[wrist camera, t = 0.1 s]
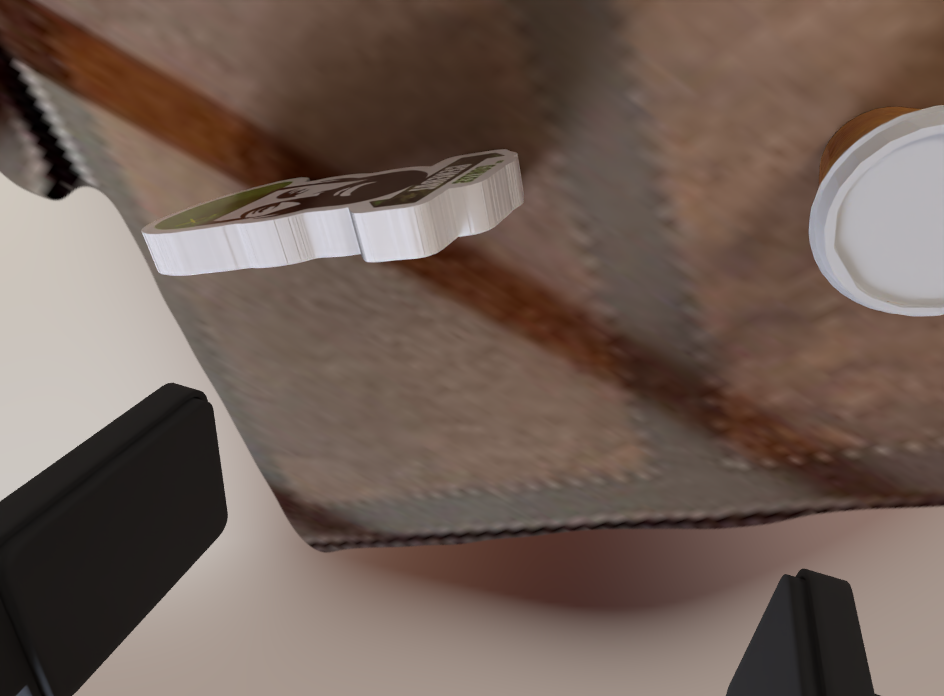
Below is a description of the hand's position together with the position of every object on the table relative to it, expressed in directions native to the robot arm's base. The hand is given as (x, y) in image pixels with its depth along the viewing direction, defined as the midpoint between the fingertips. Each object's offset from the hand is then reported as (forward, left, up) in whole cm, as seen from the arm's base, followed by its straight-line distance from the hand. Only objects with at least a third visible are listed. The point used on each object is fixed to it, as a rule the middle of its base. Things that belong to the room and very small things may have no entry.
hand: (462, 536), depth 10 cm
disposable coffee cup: (0, +13, -37) cm, 39 cm away
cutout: (+7, -19, -37) cm, 42 cm away
